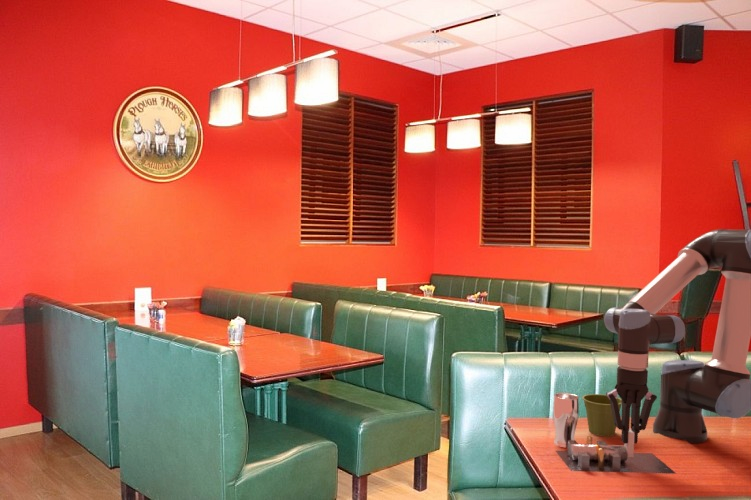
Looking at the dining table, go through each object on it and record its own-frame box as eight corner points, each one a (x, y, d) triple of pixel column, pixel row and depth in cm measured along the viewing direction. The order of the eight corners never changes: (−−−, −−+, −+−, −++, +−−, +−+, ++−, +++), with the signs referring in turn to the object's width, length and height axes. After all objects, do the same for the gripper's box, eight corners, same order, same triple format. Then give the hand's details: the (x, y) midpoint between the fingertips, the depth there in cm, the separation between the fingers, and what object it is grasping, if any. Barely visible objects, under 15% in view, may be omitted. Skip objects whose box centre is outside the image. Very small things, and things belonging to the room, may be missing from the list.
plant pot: (612, 429, 195) (613, 393, 195) (628, 442, 183) (630, 405, 183) (575, 428, 195) (576, 393, 194) (589, 441, 183) (590, 404, 182)
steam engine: (652, 456, 172) (652, 435, 172) (676, 477, 158) (677, 454, 158) (555, 454, 172) (556, 433, 172) (571, 474, 158) (571, 451, 158)
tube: (622, 462, 167) (620, 446, 169) (628, 460, 163) (626, 444, 165) (571, 460, 167) (569, 445, 168) (575, 458, 163) (573, 442, 165)
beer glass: (578, 452, 174) (580, 400, 173) (552, 450, 175) (554, 398, 174) (575, 444, 180) (577, 393, 180) (551, 442, 182) (552, 391, 181)
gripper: (650, 364, 168) (646, 450, 168) (602, 363, 167) (599, 449, 168) (663, 371, 160) (659, 460, 161) (613, 370, 160) (609, 459, 161)
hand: (628, 454), depth 165 cm, fingers closed
